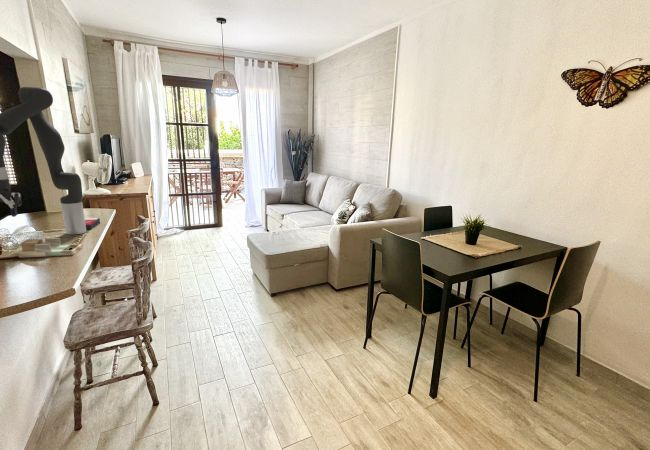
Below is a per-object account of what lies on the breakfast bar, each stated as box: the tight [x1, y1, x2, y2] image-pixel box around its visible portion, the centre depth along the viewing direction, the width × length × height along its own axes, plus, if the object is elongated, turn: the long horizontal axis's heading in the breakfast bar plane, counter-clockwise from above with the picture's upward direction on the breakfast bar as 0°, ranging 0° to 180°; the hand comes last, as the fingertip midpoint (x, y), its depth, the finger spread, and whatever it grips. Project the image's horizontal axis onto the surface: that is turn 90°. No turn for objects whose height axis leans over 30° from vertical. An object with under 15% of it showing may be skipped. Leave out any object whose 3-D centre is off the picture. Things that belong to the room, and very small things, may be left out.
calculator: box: [85, 217, 101, 231], centre depth 190 cm, size 11×4×15 cm
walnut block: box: [20, 238, 44, 252], centre depth 145 cm, size 6×6×4 cm
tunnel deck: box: [17, 237, 84, 259], centre depth 148 cm, size 10×20×6 cm, turn 107°
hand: (4, 216), depth 140 cm, fingers open, 6 cm apart
